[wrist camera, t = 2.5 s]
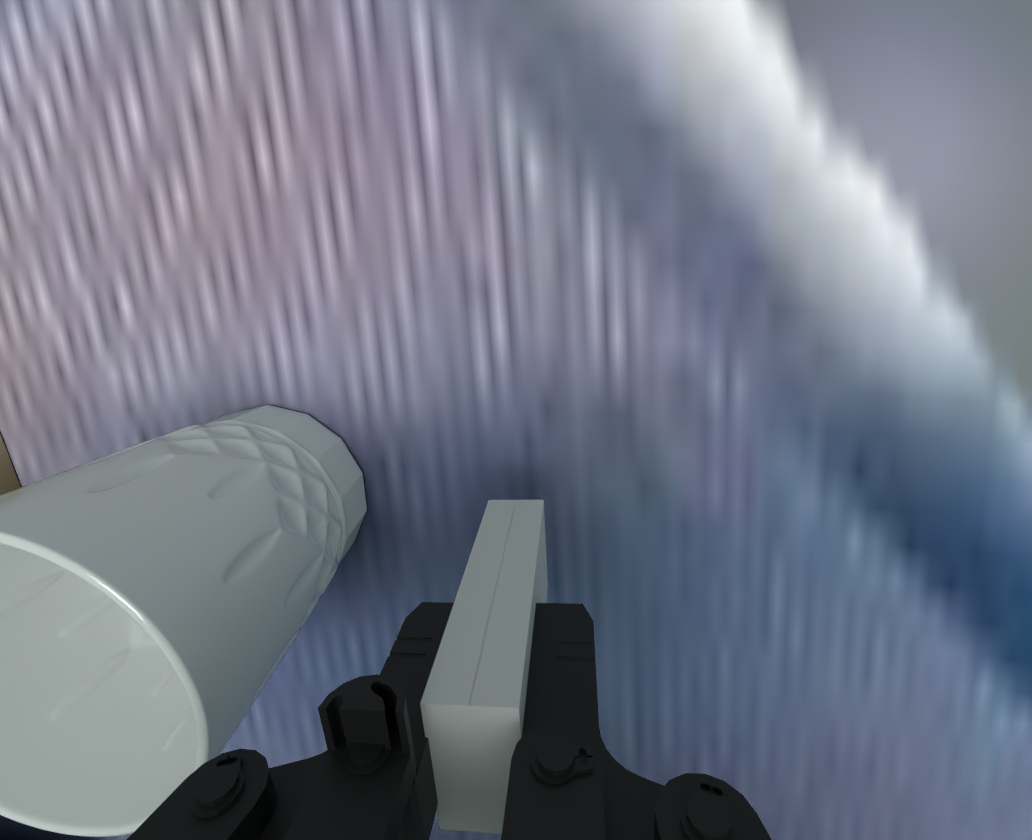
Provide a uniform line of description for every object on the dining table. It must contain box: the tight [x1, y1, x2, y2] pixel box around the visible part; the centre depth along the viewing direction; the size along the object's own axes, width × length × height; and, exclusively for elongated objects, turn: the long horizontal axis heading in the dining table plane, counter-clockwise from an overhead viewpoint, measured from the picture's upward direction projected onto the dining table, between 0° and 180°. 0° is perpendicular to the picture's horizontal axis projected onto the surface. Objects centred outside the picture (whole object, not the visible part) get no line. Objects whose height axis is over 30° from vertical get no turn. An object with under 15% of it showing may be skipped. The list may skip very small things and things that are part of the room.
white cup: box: [0, 405, 367, 837], centre depth 15 cm, size 8×8×10 cm
